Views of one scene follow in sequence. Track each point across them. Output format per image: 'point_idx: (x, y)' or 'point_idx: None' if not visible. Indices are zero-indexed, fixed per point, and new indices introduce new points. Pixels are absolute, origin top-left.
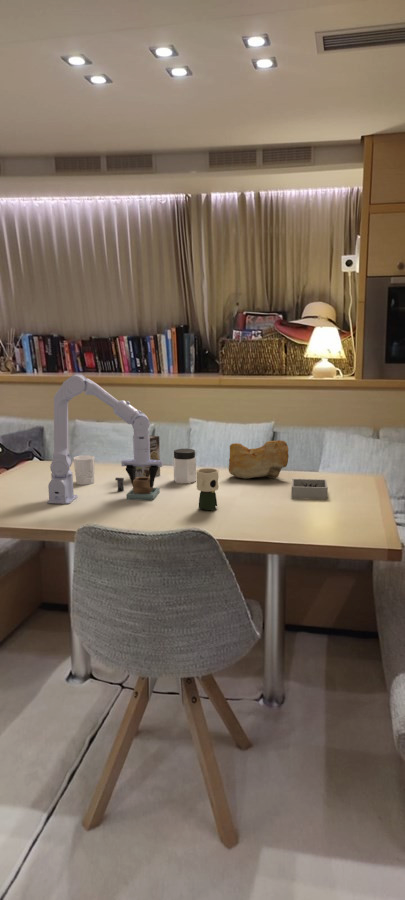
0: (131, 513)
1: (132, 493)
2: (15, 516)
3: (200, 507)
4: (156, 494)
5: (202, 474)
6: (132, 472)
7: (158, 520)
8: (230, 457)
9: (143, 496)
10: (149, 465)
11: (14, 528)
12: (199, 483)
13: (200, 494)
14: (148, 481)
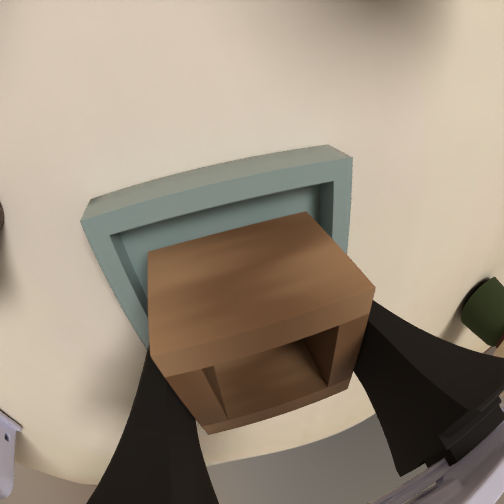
0: (276, 420)
1: (145, 297)
2: (34, 466)
3: (463, 323)
4: None
5: None
6: (215, 497)
7: (357, 405)
8: None
9: None
10: (422, 482)
11: (97, 485)
12: None
13: (488, 343)
14: (343, 389)
